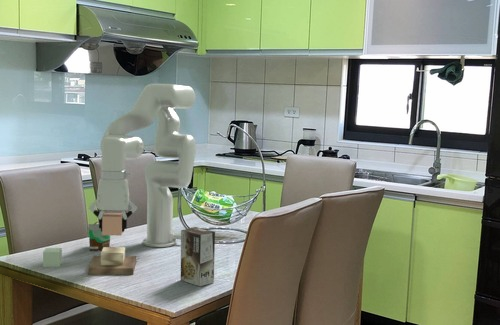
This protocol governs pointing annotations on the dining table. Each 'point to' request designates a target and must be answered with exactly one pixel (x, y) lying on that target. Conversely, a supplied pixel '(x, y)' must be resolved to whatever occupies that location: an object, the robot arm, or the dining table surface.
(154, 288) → the dining table surface
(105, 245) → the food container
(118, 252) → the beech block
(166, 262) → the dining table surface
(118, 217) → the terracotta cube
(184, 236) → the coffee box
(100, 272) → the tower board
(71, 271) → the dining table surface
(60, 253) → the sage cube
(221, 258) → the dining table surface
